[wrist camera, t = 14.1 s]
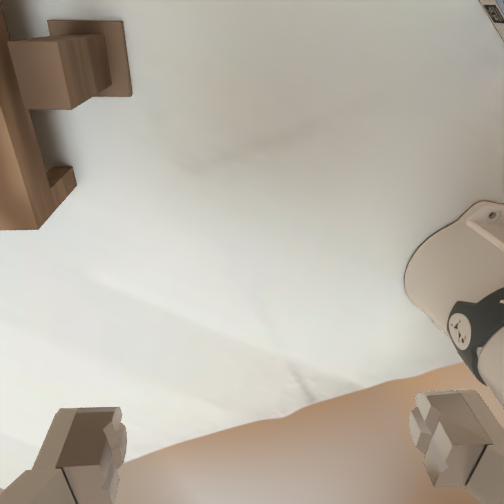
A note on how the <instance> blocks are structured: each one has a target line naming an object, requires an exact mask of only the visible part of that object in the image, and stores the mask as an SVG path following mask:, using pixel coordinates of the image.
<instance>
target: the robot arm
mask: <svg viewBox="0 0 504 504" xmlns="http://www.w3.org/2000/svg"><path fill="white" fill-rule="evenodd" d="M492 212H493V213H492ZM490 213H492V214H491V215H490ZM489 215H490V216H489ZM404 283H405V290H406V293H407V296H408V298H409V299H410V301H411V302H412V303H413V304H414V305H415V306H416V307H418V308H419V309H420V310H422V311H423V312H424V313H425V314H426V315H427V316H428V317H429V318H430V319H431V320H432V321H433V323H434V324H435V325H436V326H437V327H438V329H440V330H442V331H443V332H444V333H445V334H446V335H447V336H448V337H449V338H450V339H451V340H452V342H453V344H454V346H455V348H456V350H457V351H458V353H459V355H460V356H461V358H462V359H463V360H464V362H465V363H466V365H467V366H468V367H469V368H470V370H471V372H472V373H473V375H475V376H476V378H477V379H478V380H479V381H480V382H481V383H482V384H484V385H486V386H488V387H489V389H490V390H491V392H492V393H493V395H494V396H495V398H496V399H497V400H498V402H499V403H500V404H501V406H502V407H503V409H504V205H503V204H498V203H492V202H486V201H482V202H478V203H476V204H475V205H473V206H472V207H471V208H470V209H469V210H468V211H467V212H466V213H465V214H464V215H463V216H462V217H461V218H460V219H459V220H458V221H456V222H455V223H453V224H451V225H449V226H447V227H446V228H444V229H442V230H440V231H439V232H437V233H436V234H434V235H433V236H431V237H430V238H429V239H428V240H426V241H425V242H424V243H423V244H422V245H421V246H420V247H419V249H418V250H417V251H416V252H415V254H414V255H413V257H412V258H411V260H410V262H409V264H408V267H407V270H406V273H405V281H404ZM415 402H416V404H417V406H418V407H416V408H415V409H414V410H413V411H411V415H410V418H409V426H410V432H411V436H412V439H413V441H414V444H415V446H416V447H417V448H418V449H419V450H420V451H422V452H423V453H424V454H425V456H424V460H423V464H424V466H425V468H426V471H427V473H428V475H429V477H430V479H431V482H432V484H433V486H434V487H458V486H459V487H461V486H466V489H467V490H468V491H469V492H470V493H471V494H472V495H473V496H474V497H475V498H476V499H477V500H478V501H479V502H480V503H481V504H504V429H503V428H502V426H501V425H500V424H499V422H498V421H497V419H496V418H495V416H494V415H493V413H492V412H491V411H490V409H489V407H488V406H487V405H486V403H485V402H484V400H483V399H482V397H481V396H480V394H479V393H478V392H477V391H475V390H456V391H454V390H446V391H430V392H420V393H419V394H417V396H416V399H415ZM121 418H122V412H121V409H120V407H93V408H61V409H60V410H59V411H58V412H57V413H56V414H55V416H54V419H53V421H52V423H51V426H50V428H49V430H48V433H47V435H46V437H45V440H44V442H43V444H42V447H41V449H40V452H39V454H38V456H37V459H36V461H35V463H34V466H33V468H32V470H25V471H24V472H23V473H22V474H21V475H20V476H19V477H18V478H17V479H16V480H15V481H13V482H12V483H11V484H10V485H9V486H8V487H7V488H6V489H5V490H4V491H3V492H2V493H1V494H0V504H114V502H115V498H116V493H117V489H118V485H119V480H120V479H119V475H118V472H117V469H118V468H119V467H120V466H121V465H122V464H123V463H124V458H125V454H126V445H127V433H126V428H125V425H123V424H122V423H121Z"/></svg>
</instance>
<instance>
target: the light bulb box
mask: <svg viewBox="0 0 504 504" xmlns="http://www.w3.org/2000/svg"><path fill="white" fill-rule="evenodd" d="M479 1H480V2H481V4H482V6H483V7H484V9H485V11H486V12H487V14H488V16H489V17H490V19H491V21H492V22H493V24H494V25H495V27H496V29H497V31H498V32H499V34H500V36H501V37H502V39H503V41H504V0H479Z"/></svg>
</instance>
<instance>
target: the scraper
mask: <svg viewBox="0 0 504 504" xmlns="http://www.w3.org/2000/svg"><path fill="white" fill-rule="evenodd" d="M47 23H48V27H49V32H50V36H48V37H39V38H31V39H22V40H13V41H7V44H8V48H9V51H10V55H11V59H12V63H13V66H14V70H15V74H16V77H17V81H18V85H19V88H20V92H21V96H22V99H23V103H24V107H25V110H72V109H73V108H75V107H77V106H78V105H80V104H82V103H83V102H85V101H86V100H88V99H90V98H91V97H131V96H132V88H131V80H130V73H129V65H128V58H127V50H126V43H125V35H124V28H123V21H75V20H47Z"/></svg>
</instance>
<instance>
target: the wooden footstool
mask: <svg viewBox="0 0 504 504" xmlns="http://www.w3.org/2000/svg"><path fill="white" fill-rule="evenodd" d="M7 41H10V39H9V35H8V32H7V28H6V24H5V21H4V17H3V13H2V10H1V6H0V230H38V229H39V228H40V227H41V226H42V225H43V224H44V222H45V221H46V220H47V219H48V218H49V217H50V216H51V214H52V213H53V212H54V211H55V210H56V209H57V208H58V206H59V205H60V204H61V203H62V202H63V201H64V200H65V198H66V197H67V196H68V195H69V194H70V193H71V192H72V190H73V189H74V188H75V187H76V186H77V184H76V179H75V175H74V171H73V167H52V168H51V169H50V170H49V171H48V172H47V173H46V171H45V167H44V164H43V160H42V156H41V153H40V149H39V145H38V142H37V138H36V134H35V131H34V127H33V123H32V120H31V116H30V112H29V110H25V107H24V103H23V99H22V96H21V92H20V88H19V85H18V81H17V77H16V74H15V70H14V66H13V63H12V59H11V55H10V51H9V48H8V44H7Z"/></svg>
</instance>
